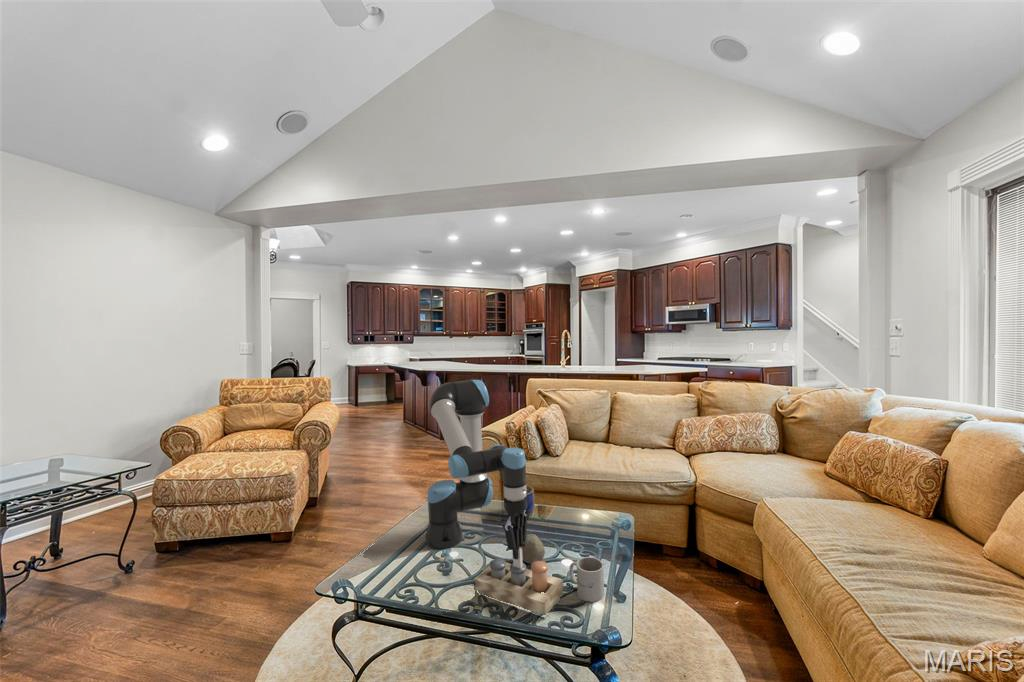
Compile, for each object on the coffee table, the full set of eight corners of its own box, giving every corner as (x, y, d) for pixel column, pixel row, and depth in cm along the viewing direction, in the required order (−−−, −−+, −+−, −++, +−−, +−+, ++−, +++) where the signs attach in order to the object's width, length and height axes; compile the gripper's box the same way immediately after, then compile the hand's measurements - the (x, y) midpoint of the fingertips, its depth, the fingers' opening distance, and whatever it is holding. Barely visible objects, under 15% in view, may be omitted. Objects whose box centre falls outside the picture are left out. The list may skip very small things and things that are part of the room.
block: (475, 593, 150) (474, 579, 150) (496, 572, 161) (496, 559, 161) (545, 618, 136) (544, 603, 136) (563, 594, 148) (562, 579, 147)
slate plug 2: (507, 589, 148) (506, 568, 147) (515, 580, 152) (515, 560, 152) (521, 594, 145) (521, 573, 144) (529, 584, 149) (529, 564, 149)
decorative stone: (515, 558, 169) (514, 533, 169) (534, 552, 173) (534, 527, 172) (528, 572, 160) (527, 545, 159) (548, 565, 164) (547, 539, 163)
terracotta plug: (528, 588, 143) (527, 567, 143) (536, 579, 148) (535, 559, 147) (543, 593, 140) (542, 572, 140) (551, 584, 145) (550, 563, 145)
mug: (609, 594, 147) (609, 565, 146) (590, 605, 142) (589, 575, 141) (583, 576, 157) (582, 549, 156) (564, 586, 152) (563, 558, 151)
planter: (505, 514, 205) (504, 491, 204) (521, 506, 213) (520, 483, 212) (524, 521, 198) (523, 496, 197) (539, 512, 206) (538, 488, 205)
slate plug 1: (487, 585, 152) (486, 565, 151) (496, 576, 156) (495, 557, 156) (500, 589, 149) (500, 569, 148) (509, 580, 154) (508, 561, 153)
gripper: (514, 507, 139) (517, 580, 140) (534, 491, 150) (537, 559, 151) (494, 502, 142) (497, 573, 144) (515, 487, 153) (518, 553, 155)
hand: (518, 566), depth 148 cm, fingers closed
